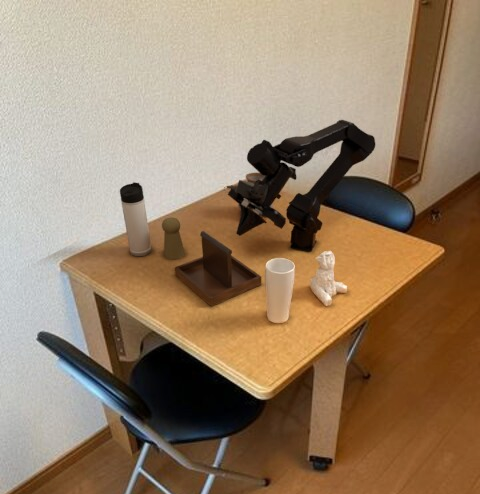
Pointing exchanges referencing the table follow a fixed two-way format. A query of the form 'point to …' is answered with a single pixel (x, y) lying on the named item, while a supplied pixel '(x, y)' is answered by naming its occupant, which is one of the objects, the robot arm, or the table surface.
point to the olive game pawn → (172, 239)
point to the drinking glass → (279, 288)
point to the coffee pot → (252, 179)
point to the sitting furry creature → (326, 279)
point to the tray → (217, 273)
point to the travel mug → (135, 219)
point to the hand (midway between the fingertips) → (238, 234)
